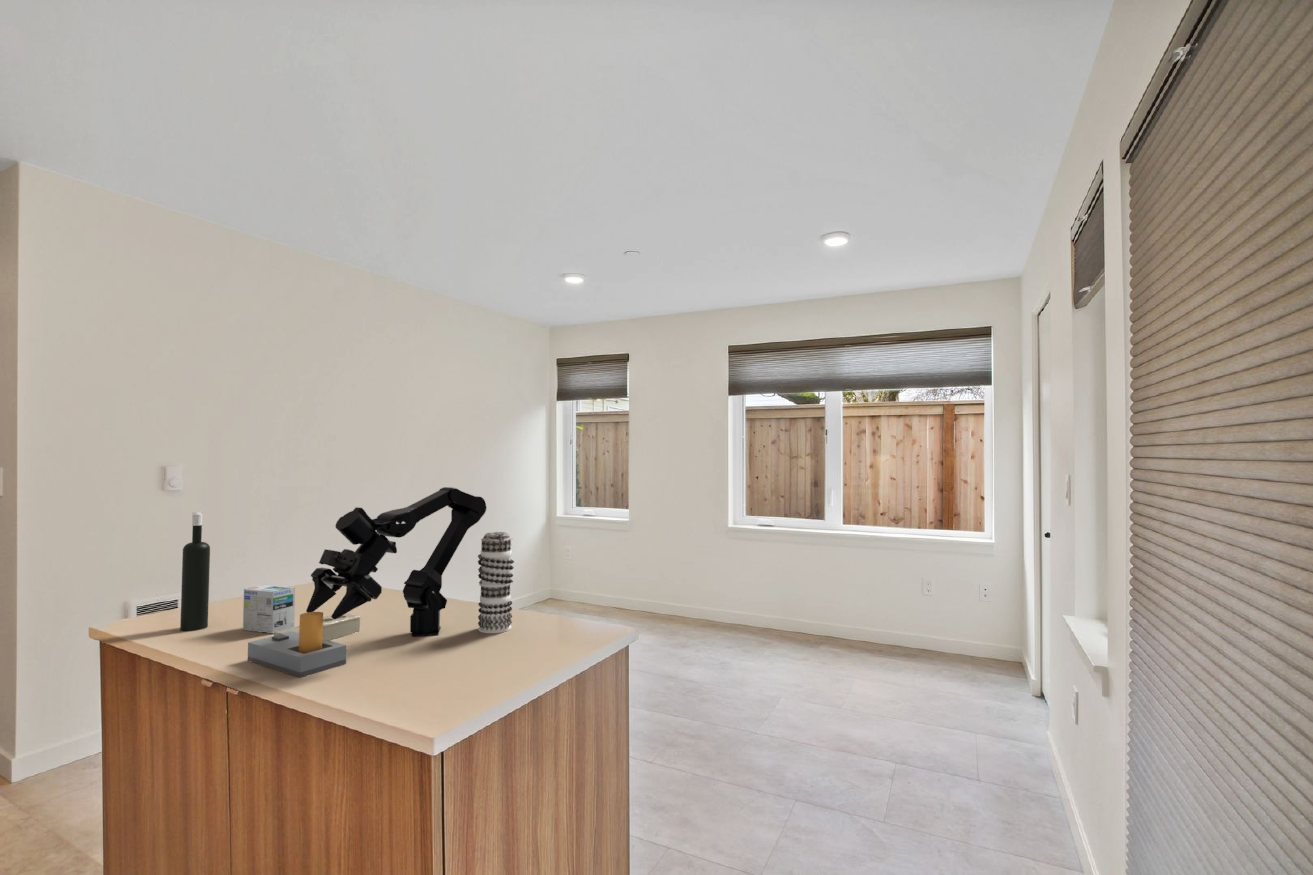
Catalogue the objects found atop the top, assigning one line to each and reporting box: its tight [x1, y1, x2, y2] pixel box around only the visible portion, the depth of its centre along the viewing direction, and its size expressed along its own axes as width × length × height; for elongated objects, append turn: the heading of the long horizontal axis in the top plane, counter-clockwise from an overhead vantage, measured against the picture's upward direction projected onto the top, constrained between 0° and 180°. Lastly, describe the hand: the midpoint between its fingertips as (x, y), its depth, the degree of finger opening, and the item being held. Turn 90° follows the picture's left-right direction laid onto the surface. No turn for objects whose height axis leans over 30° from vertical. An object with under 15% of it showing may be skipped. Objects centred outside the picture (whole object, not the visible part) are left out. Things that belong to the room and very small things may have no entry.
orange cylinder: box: [299, 611, 324, 654], centre depth 135 cm, size 4×4×10 cm
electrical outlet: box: [273, 613, 361, 641], centre depth 155 cm, size 7×4×18 cm
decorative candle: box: [477, 531, 515, 634], centre depth 165 cm, size 9×9×25 cm
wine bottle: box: [179, 511, 211, 632], centre depth 164 cm, size 6×6×30 cm
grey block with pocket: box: [247, 632, 347, 678], centre depth 137 cm, size 20×10×5 cm, turn 60°
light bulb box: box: [242, 584, 296, 634], centre depth 163 cm, size 11×7×11 cm, turn 71°
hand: (320, 615), depth 136 cm, fingers open, 9 cm apart
